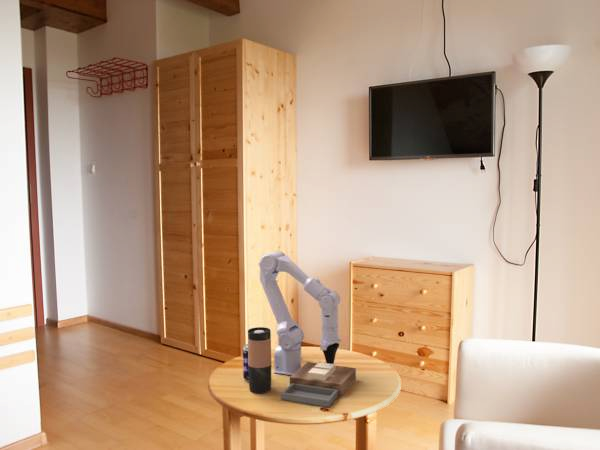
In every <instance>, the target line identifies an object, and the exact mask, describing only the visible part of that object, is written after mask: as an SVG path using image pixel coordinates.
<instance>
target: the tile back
mask: <svg viewBox="0 0 600 450" xmlns="http://www.w3.org/2000/svg"><path fill="white" fill-rule="evenodd" d="M317 363H318V364H317V365H315V366H314V368H318V369H325V370H330V374H332V373H333V372H334V371H335V366H336V364H335V363H334V364H329V363H326V362H319V361H318V362H317Z"/></svg>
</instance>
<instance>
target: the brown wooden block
mask: <svg viewBox="0 0 600 450" xmlns="http://www.w3.org/2000/svg"><path fill="white" fill-rule="evenodd" d="M318 363H319V362H313V361H307V362H306V363H304V364H303V365H301V368H300V369H299V370H298V371H296V372H295V373H294V374H293V375H289V386H290V385H291V384H292V383H295V384H301V385H308V386H315V387H322V388H328V389H335V390H338V397H341V398H342V397H343V396H344V394H345V393H346V392H347V391H348V390H349V389H350V387H351V386H352V385H353V384H354V382H355V381H356V380H357V378H356V377H357V373H356V372H357V369H356V367H349V366H342V365H335V371H334V372H333V373H332V374H330V376H329V377H328V378H327V379H326V380H325V381H324V380H317V379H310V378H308V372H309V371H310V370H311V369H312V368H314V366H315V365H317V364H318Z"/></svg>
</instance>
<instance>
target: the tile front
mask: <svg viewBox="0 0 600 450" xmlns="http://www.w3.org/2000/svg"><path fill="white" fill-rule="evenodd" d="M329 376H330V370H325V369H318V368H312V369H311V370H310V371H309V372H308V378H310V379H317V380H324V381H325V380H326V379H327V378H328V377H329Z"/></svg>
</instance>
